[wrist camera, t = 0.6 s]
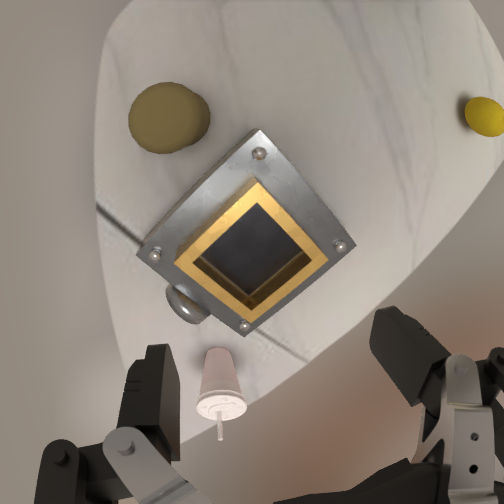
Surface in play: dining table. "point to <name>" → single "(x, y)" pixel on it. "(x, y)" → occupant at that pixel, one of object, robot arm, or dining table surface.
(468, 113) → the lemon
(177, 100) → the olive pestle shaped cylinder
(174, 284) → the square socket fixture
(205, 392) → the smoothie
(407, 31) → the dining table surface
